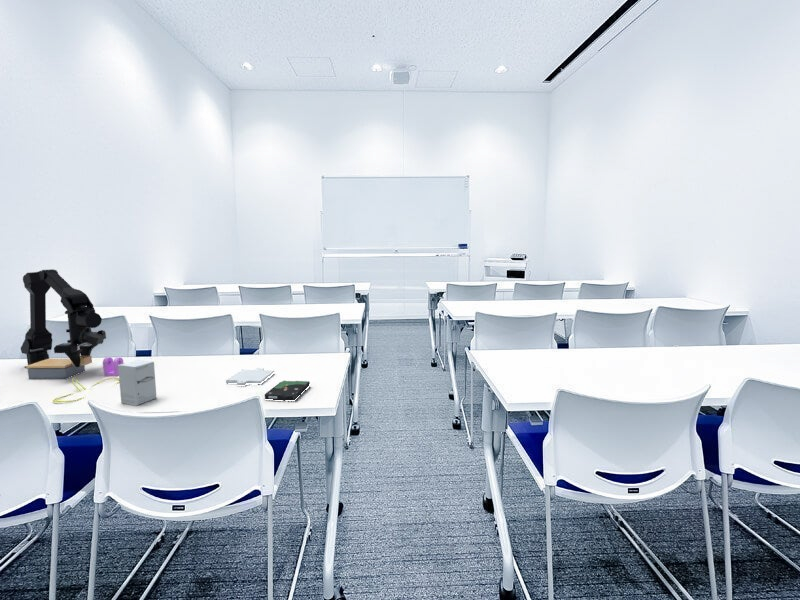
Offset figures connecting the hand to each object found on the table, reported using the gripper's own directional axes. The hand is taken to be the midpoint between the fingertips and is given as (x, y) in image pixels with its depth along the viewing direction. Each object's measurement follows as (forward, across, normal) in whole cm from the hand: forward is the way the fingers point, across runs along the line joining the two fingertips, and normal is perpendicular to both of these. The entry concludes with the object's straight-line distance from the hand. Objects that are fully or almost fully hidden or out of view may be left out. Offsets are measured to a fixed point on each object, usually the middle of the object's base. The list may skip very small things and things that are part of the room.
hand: (82, 365), depth 168 cm
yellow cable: (+4, -18, -14) cm, 23 cm away
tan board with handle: (-1, 0, +7) cm, 7 cm away
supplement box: (+4, -28, -38) cm, 47 cm away
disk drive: (+5, -22, -85) cm, 88 cm away
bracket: (+4, +5, -12) cm, 14 cm away
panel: (+4, 0, +10) cm, 11 cm away
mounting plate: (+4, -6, -67) cm, 68 cm away
